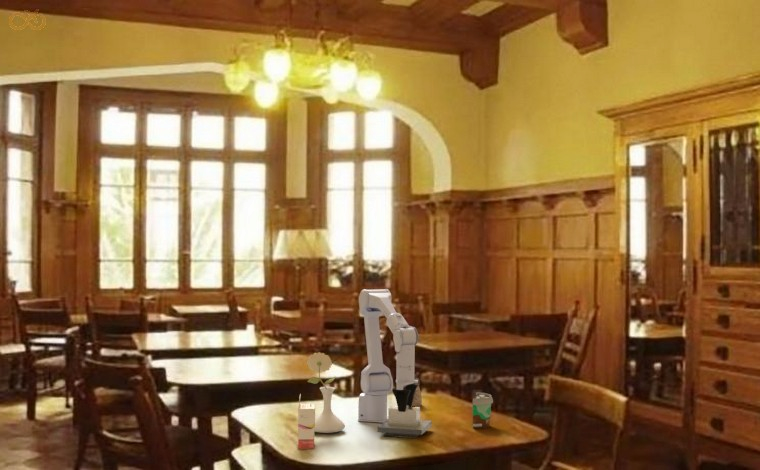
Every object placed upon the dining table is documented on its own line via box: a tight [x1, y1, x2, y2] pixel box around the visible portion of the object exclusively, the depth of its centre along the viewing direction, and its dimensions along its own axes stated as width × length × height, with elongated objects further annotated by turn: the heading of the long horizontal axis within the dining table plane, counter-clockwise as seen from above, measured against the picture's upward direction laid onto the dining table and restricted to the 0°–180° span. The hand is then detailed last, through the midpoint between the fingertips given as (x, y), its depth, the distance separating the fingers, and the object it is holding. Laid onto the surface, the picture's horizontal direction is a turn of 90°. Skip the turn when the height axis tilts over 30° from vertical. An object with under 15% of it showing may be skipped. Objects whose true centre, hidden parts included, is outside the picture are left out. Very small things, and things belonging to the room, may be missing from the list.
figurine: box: [412, 371, 423, 407], centre depth 313 cm, size 7×7×12 cm
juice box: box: [297, 393, 316, 450], centre depth 250 cm, size 9×5×15 cm, turn 5°
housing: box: [387, 405, 421, 426], centre depth 266 cm, size 5×9×6 cm, turn 74°
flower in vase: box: [305, 351, 346, 434], centre depth 268 cm, size 13×11×25 cm
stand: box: [377, 419, 433, 439], centre depth 266 cm, size 14×14×3 cm
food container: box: [472, 391, 494, 429], centre depth 278 cm, size 12×6×10 cm, turn 168°
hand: (405, 409), depth 266 cm, fingers open, 7 cm apart
